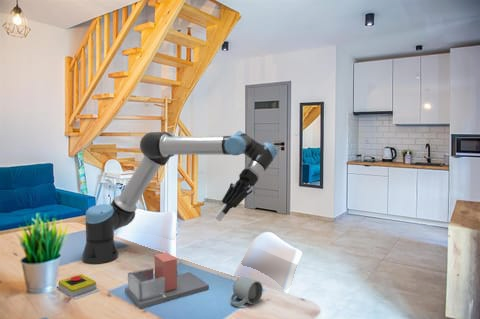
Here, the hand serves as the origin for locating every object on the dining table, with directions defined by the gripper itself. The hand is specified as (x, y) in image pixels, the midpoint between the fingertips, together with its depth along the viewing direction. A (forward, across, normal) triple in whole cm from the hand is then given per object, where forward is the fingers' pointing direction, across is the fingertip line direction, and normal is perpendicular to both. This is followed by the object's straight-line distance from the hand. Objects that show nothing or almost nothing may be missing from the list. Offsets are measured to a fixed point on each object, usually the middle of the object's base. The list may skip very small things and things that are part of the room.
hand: (217, 218), depth 141 cm
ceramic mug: (+19, -22, -15) cm, 33 cm away
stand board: (+32, 0, -2) cm, 32 cm away
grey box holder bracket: (+36, 0, +5) cm, 37 cm away
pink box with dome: (+31, 0, 0) cm, 31 cm away
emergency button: (+51, +20, +16) cm, 57 cm away
